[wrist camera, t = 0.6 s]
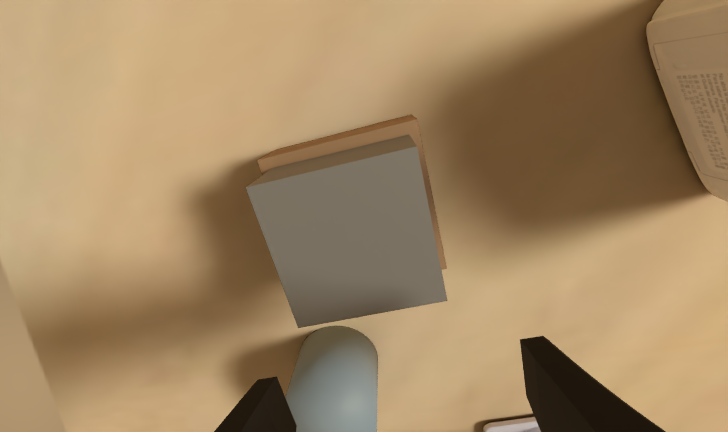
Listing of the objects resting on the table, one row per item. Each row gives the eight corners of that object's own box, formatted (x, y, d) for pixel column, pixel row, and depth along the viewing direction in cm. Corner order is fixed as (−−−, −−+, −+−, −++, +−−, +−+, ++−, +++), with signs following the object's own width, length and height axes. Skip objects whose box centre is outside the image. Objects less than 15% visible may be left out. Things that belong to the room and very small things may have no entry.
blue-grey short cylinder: (386, 381, 22) (387, 458, 18) (313, 393, 23) (295, 470, 18) (366, 319, 21) (362, 385, 16) (289, 333, 22) (263, 401, 17)
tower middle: (434, 261, 16) (447, 300, 13) (312, 285, 17) (298, 327, 14) (409, 134, 14) (417, 146, 11) (272, 167, 15) (245, 187, 12)
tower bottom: (436, 240, 19) (446, 268, 16) (317, 265, 20) (306, 296, 17) (411, 114, 17) (417, 119, 14) (278, 148, 18) (257, 160, 15)
